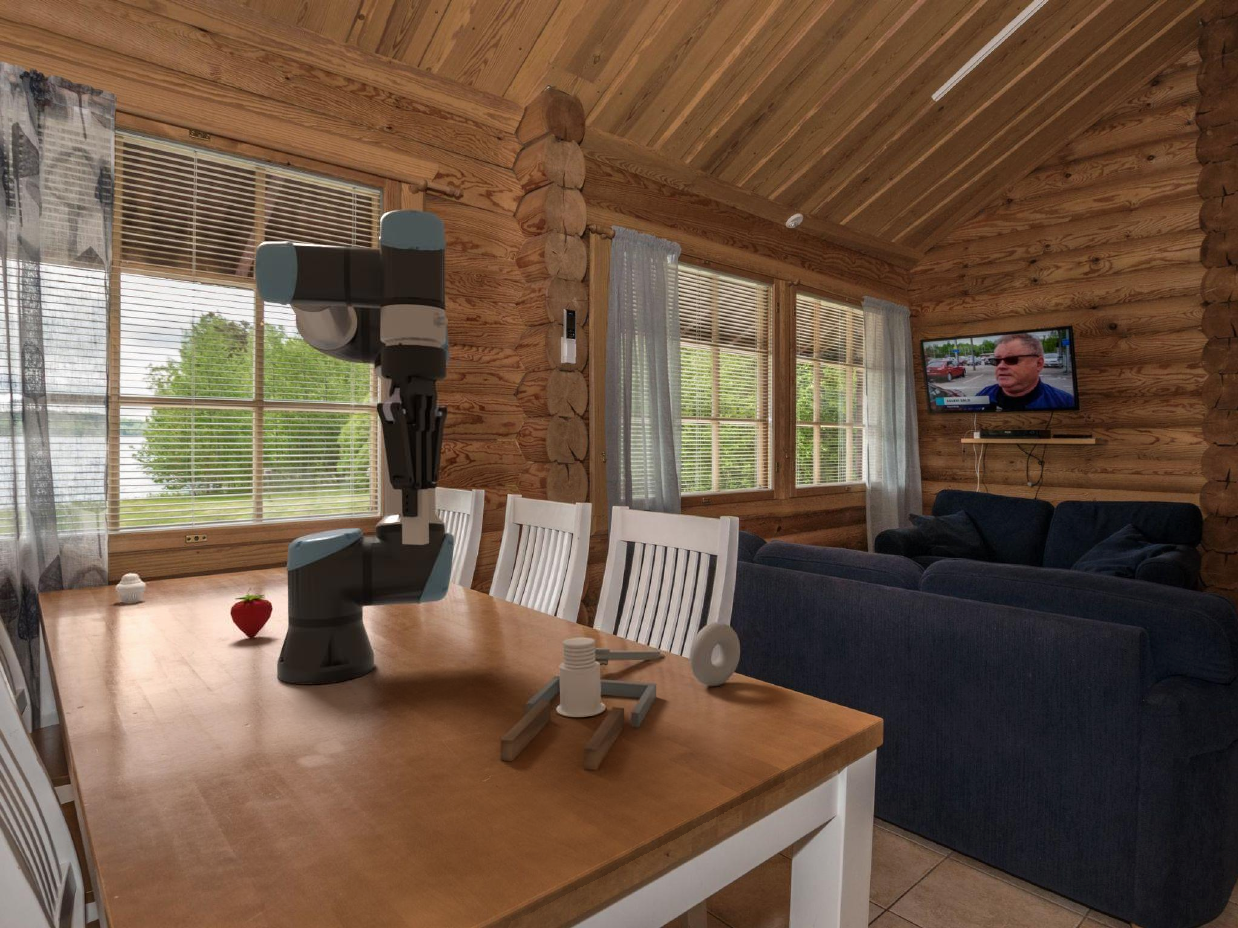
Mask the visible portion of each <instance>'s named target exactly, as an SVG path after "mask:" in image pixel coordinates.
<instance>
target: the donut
mask: <svg viewBox="0 0 1238 928" xmlns="http://www.w3.org/2000/svg"><path fill="white" fill-rule="evenodd" d="M740 643H741V642H740V640H739V637H738V634H737V632H736V631H735V630H734V629H733V627H732V626H730V625H729V624H727V623H724V622H721V621H719V622H718V621H717V622H715V621H714V622H711V623H709V624H706V625H704V626H703V627H702V628H701V629H700V630H699V631H698V632H697V634H696V635H695V637H694V639H693V641H692V645H691V647H690V651H689V652H690V653H689V663H690V664H689V665H690V669H691V671H692V673H693V676H694V677H695V678H696V679H697V680H698V682H699V683H700V684H703V685H706V686H708V687H715V686H721V685H722V684H724V683H726V682H727V681H728V680H729V679H730V678H731V677H732V676H733V675H734V673H735V671H736V670H737V668H738V665H739V662H740V655H741V645H740ZM716 646H719V648H718V649H719V651H718V655H717V658H716V660H715V661H714V662H712V657H713V652H714V649H715V647H716Z"/></svg>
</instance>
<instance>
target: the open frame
mask: <svg viewBox="0 0 1238 928" xmlns="http://www.w3.org/2000/svg"><path fill="white" fill-rule="evenodd" d="M600 682H601V696H614V697H615V696H616V697H627V698H636V699H637V698H639V699H638V701H637V702H636V704H635V706H634V707H633V709H632V711H631V714H630V715H631V718H630V721H631V722H630V723H631V725H630V726H631V728H636V729H637V728H639V727H640V726H641V724H642V722H644V721H643V720H644V719H645V717H646V716H647V713H648V712H649V710H650V709H651V706H652V705H653V703H654V702H655V700H656V699H657V683H653V682H652V683H650V682H638V681H625V680H616V679H615V680H614V679H603V678H602V679H601V678H600ZM558 693H560V677H559V675H554V676H553V677H552V678H551V679H550V680H549V681H548V682H547V683H546V684H545V685H544V686H543V687H542V688H541V689H539V690H538V692H536V693H535V694H534V695H533V696H532V697H531V698H530V699H529V700H528V701H526V705H525V707H526V709H525V710H526V713H525V715H526V714H527V713H528V712H529V711H530V710H531V709H532V708H533V707H534V706H535V705H536V704H537V703H538V702H539V701H549V702H551V700H552V699H553V698H554V697H555V696H556V695H557V694H558Z"/></svg>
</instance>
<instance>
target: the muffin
mask: <svg viewBox="0 0 1238 928" xmlns="http://www.w3.org/2000/svg"><path fill="white" fill-rule="evenodd" d="M146 588H147V584H146V583H145V582H144V581H142V579H141V578H140V576H139V574H137V573H131V572H129V573H127V574H124V575H123V576H122V577H121V580H120V581H119V583H118V584H116V586H115V588H114V589H115V592H116V595H117V596H118V598H119V599H120V601H121V603H123V604H134V603H139V602H140V601H141V598H142V597H143V594H144V593H145V590H146Z"/></svg>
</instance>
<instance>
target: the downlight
mask: <svg viewBox="0 0 1238 928" xmlns="http://www.w3.org/2000/svg"><path fill="white" fill-rule="evenodd" d="M595 648H596V640H595V639H594V638H591V637H571V638H567V639H564V640H563V641H562V653H563V654H562V657H563V658H562V661H563V662H561V663H560V664H559V665H558V669H559V670H558V671H559V674H558V676H559V677H560V691H559V701H560V703H559V704H558V706H557V707H556V713H558V714H559V715H561V716H564V717H569V718H584V717H590V716H591V717H594V716H596V715H599V714H601V713H603V712H604V711H605V710H606V705H605V704H604V703H603V702H602V698H601V696H602V695H601V682H600V679H601V665H600V663H599V662H596V661H595Z"/></svg>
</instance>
